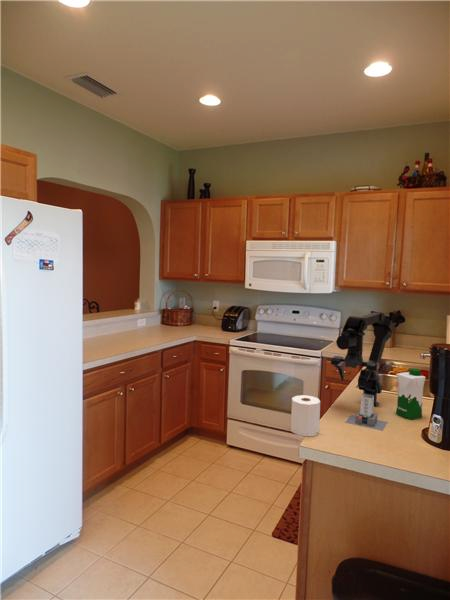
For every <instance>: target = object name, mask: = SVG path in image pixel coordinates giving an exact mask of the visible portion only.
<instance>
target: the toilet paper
mask: <svg viewBox="0 0 450 600" xmlns="http://www.w3.org/2000/svg"><path fill="white" fill-rule="evenodd" d="M290 414H291V415H290V416H291V417H290V418H291V419H290V430H291V432H292V433H293V434H295V435H296V436H301V437H307V436H308V437H314V436H315V437H316V436H317V435H318V434H319V431H320V421H321V419H320V418H321V400H320V399H319V398H318V397H316V396H314V395H313V396H312V395H305V394H302V395H301V394H300V395H295V396H293V397H291V413H290ZM308 434H309V435H308Z"/></svg>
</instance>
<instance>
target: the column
mask: <svg viewBox="0 0 450 600" xmlns="http://www.w3.org/2000/svg"><path fill="white" fill-rule="evenodd" d="M374 408H375V407H374V395H369V394H363V393H362V395H361V396H360V410H359V411H360V415H362V416H364V417H372V415H373V413H374Z"/></svg>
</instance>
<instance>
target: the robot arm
mask: <svg viewBox="0 0 450 600" xmlns="http://www.w3.org/2000/svg"><path fill="white" fill-rule="evenodd" d="M394 324H395V323H394V322H393V320H391V318H389V317H388V316H386V314H385V313H384V312H379V311H373V312H371V313H368V314H364V315H361V316H357V315H356V316H353V315H352V316H351V315H350V316H348V318H347V319H346V321H345V322H344V326H343V328H342V331H341V332H340V335H339V336H338V337H337V338H336V341H335V342H336V346H337V348H338V349H340V350H342V351H344V350H347V352H346V355H345V357H344V356H340V355H334V356H333V357H332V358H330V365H333V367H335V368H336V369H337V371H338V374H339V376H340V378H341V382H344V379H345V367H346V368H352V369H357V367H365V368H364V369H361V370H360V372H359V376H358V379H357V386H358V390H360V391H362V392H363V393H362V395H363V394H369V395H374V407H373V408H377V407H378V405H379V402H378V401H377V396H378V395H379V394H382V391H383V386H382V384H381V382H380V379H381V378H380V375H379V369H380V364H381V361H382V356H383V354H384V350H385V346H386V343H387V341H388V340H389V339H391V338H392V336H393V333H394V331H395V329H396V328H395V325H394ZM368 326H372V328H373V335H374V340H373V344H372V347H371V352H370V353H369V356H368V357H369V358H368V361H364V358H363V352H364V349H363V346H364V345H363V344H364V336H366V332H365V330H367V329H368ZM377 394H378V395H377Z"/></svg>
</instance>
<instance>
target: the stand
mask: <svg viewBox="0 0 450 600" xmlns="http://www.w3.org/2000/svg"><path fill="white" fill-rule="evenodd" d="M344 423H345V424H350V425H354V426H359V427H364V428H368V429H372V430H378V431H381V432H383V431H384V430H385V428H386V426H387V424H388V421H386V420H381V419H378V413H376V412H373V415H372V417H364V416H362V415H360V410H359V411H358V412H357V413H356V414H350V416H349V417H348V418H347V419H346V421H344Z"/></svg>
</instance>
